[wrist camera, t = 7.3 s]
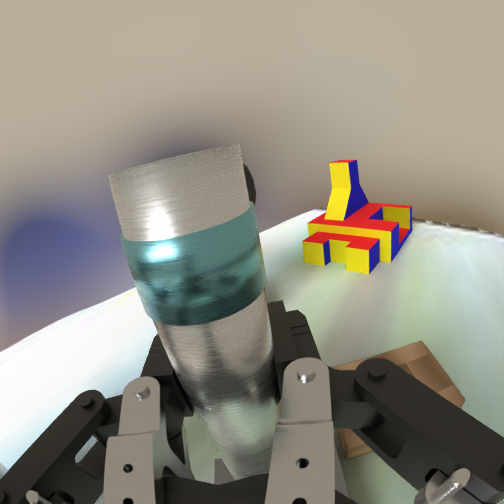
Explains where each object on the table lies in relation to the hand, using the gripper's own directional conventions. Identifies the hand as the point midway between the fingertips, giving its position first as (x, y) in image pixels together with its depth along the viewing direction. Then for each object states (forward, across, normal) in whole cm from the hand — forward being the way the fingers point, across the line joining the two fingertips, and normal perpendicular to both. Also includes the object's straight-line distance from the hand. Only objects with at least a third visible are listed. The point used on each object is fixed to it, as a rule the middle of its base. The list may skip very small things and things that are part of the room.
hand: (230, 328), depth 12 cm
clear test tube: (-3, 0, +9) cm, 9 cm away
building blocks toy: (+47, -25, +18) cm, 56 cm away
